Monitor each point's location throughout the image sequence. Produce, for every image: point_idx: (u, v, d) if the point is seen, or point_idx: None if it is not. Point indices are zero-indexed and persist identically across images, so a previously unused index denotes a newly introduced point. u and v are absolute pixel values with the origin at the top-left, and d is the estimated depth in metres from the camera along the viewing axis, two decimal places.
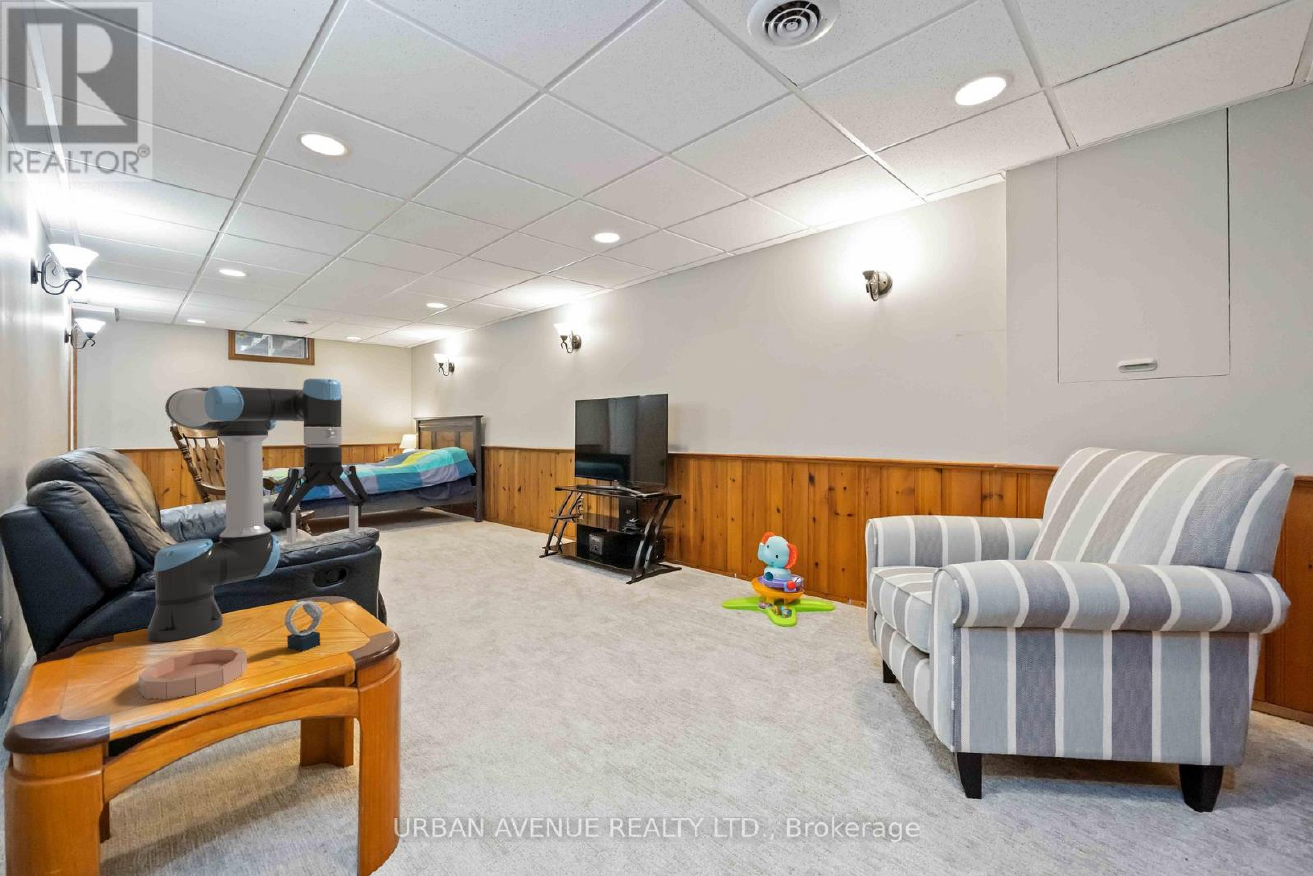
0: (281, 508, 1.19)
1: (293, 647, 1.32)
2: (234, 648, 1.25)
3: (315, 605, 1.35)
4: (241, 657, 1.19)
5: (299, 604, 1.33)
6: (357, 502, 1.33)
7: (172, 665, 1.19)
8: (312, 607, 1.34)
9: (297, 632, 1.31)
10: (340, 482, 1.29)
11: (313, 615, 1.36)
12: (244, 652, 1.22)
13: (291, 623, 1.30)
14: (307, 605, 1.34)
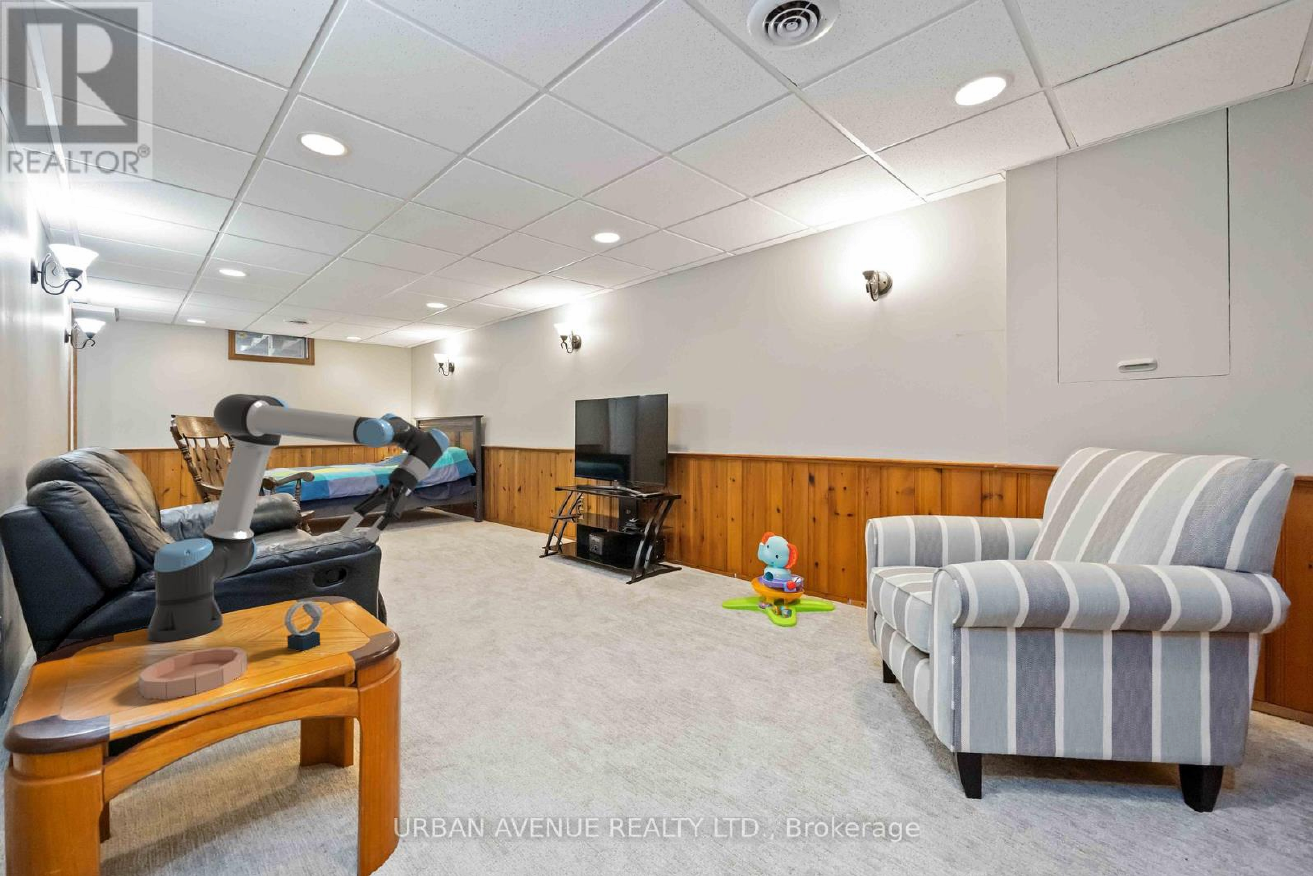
0: None
1: (293, 647, 1.32)
2: (234, 648, 1.25)
3: (315, 605, 1.35)
4: (241, 657, 1.19)
5: (299, 604, 1.32)
6: None
7: (172, 665, 1.19)
8: (312, 607, 1.34)
9: (297, 632, 1.31)
10: None
11: (313, 615, 1.36)
12: (244, 652, 1.22)
13: (291, 623, 1.30)
14: (307, 605, 1.34)
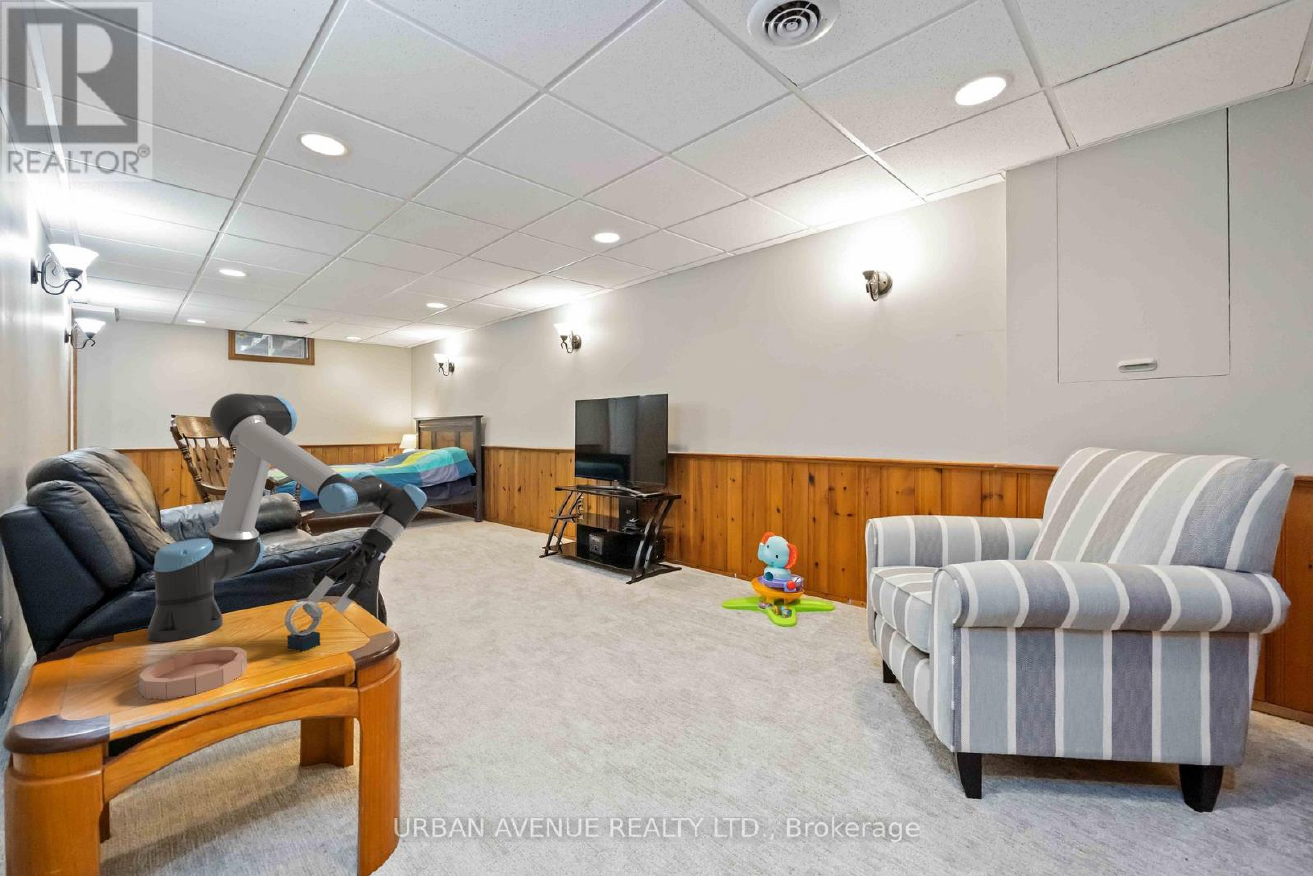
0: None
1: (293, 647, 1.32)
2: (234, 648, 1.25)
3: (315, 605, 1.35)
4: (241, 657, 1.19)
5: (299, 604, 1.32)
6: None
7: (172, 665, 1.19)
8: (312, 607, 1.34)
9: (297, 632, 1.31)
10: None
11: (313, 615, 1.36)
12: (244, 652, 1.22)
13: (291, 623, 1.30)
14: (307, 605, 1.34)
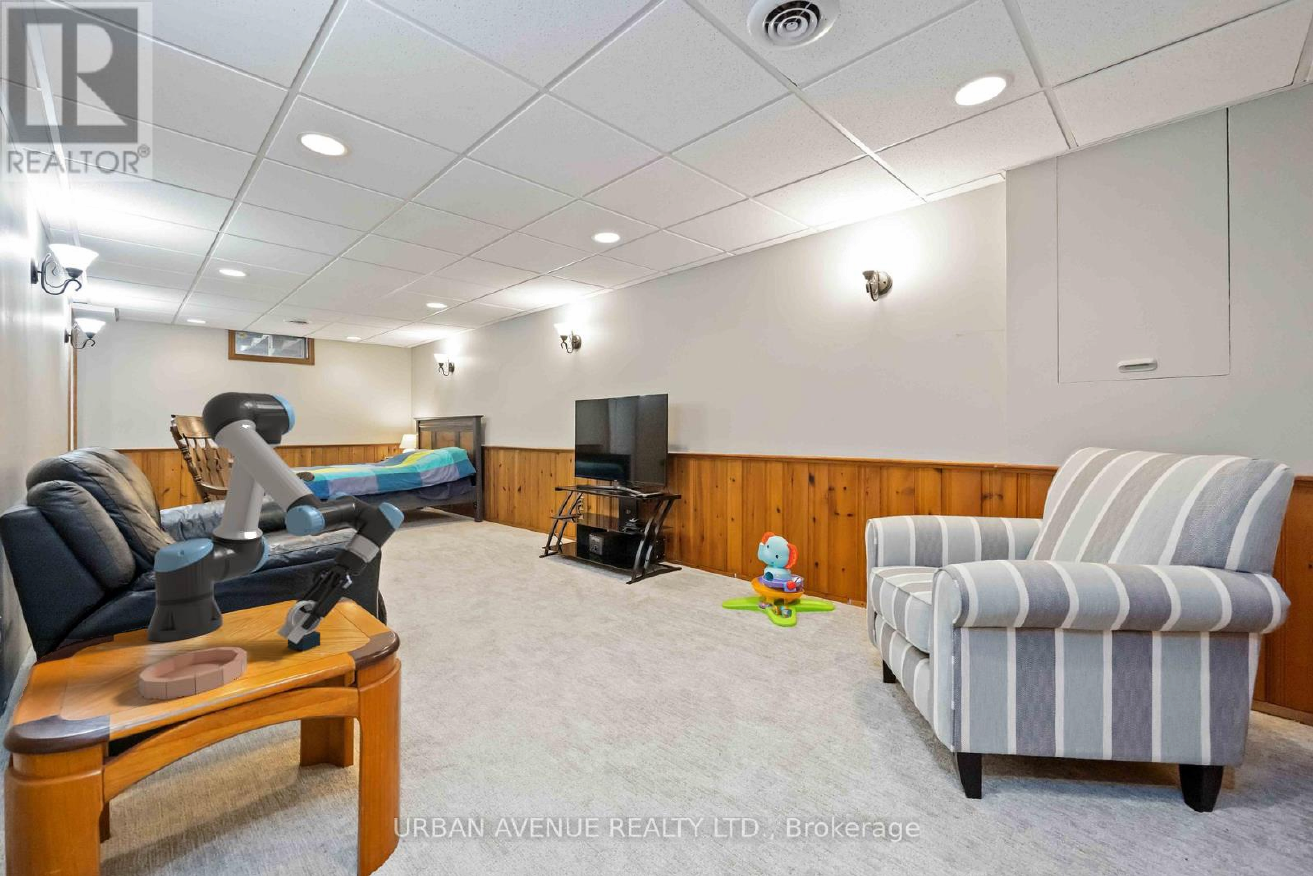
0: None
1: (293, 646, 1.32)
2: (234, 648, 1.25)
3: None
4: (241, 657, 1.19)
5: (301, 604, 1.32)
6: None
7: (172, 665, 1.19)
8: None
9: None
10: None
11: None
12: (244, 652, 1.22)
13: (292, 623, 1.30)
14: (308, 605, 1.34)
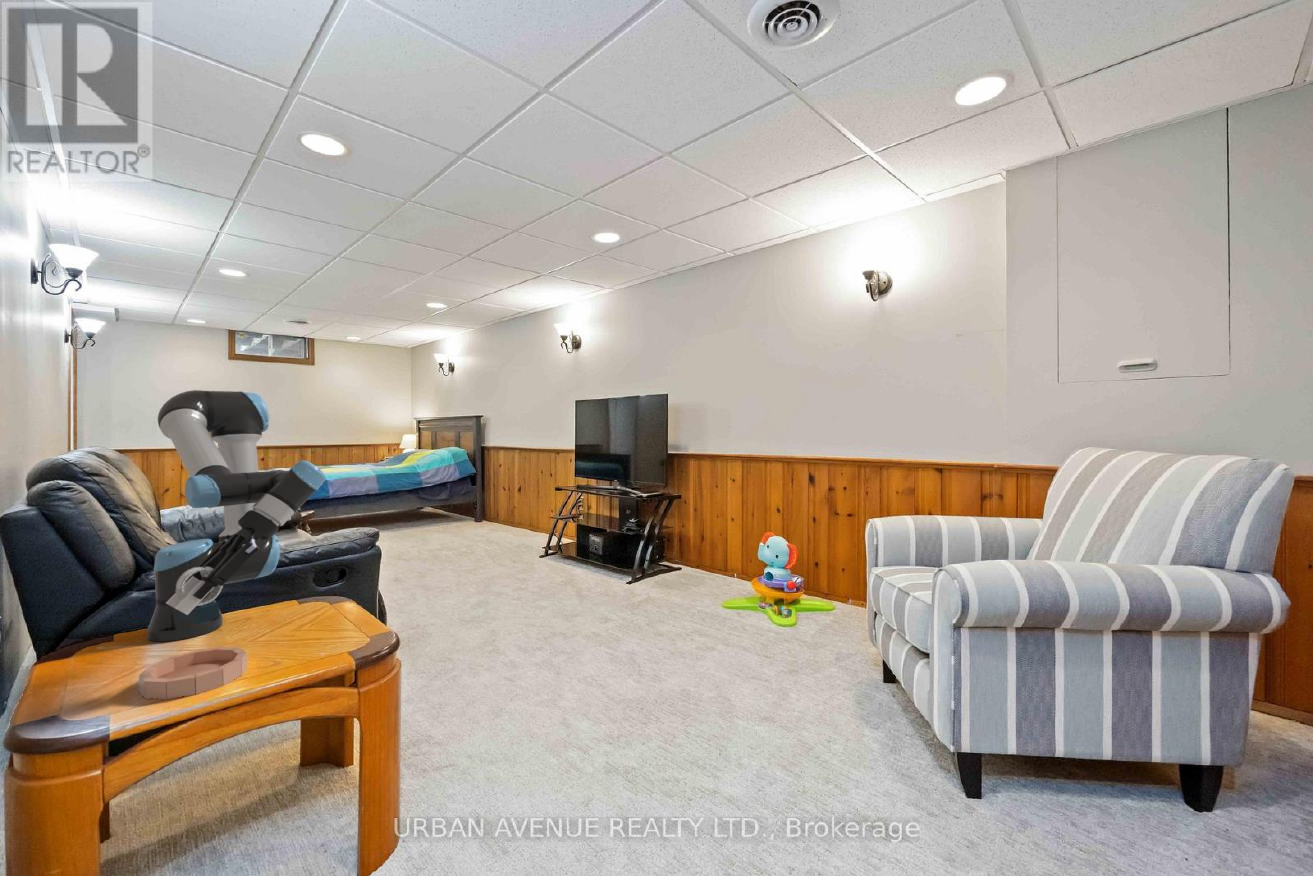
0: None
1: (185, 618, 1.15)
2: (234, 648, 1.25)
3: None
4: (241, 657, 1.19)
5: (194, 570, 1.15)
6: None
7: (172, 665, 1.19)
8: None
9: None
10: None
11: None
12: (244, 652, 1.22)
13: (182, 591, 1.13)
14: (205, 571, 1.17)
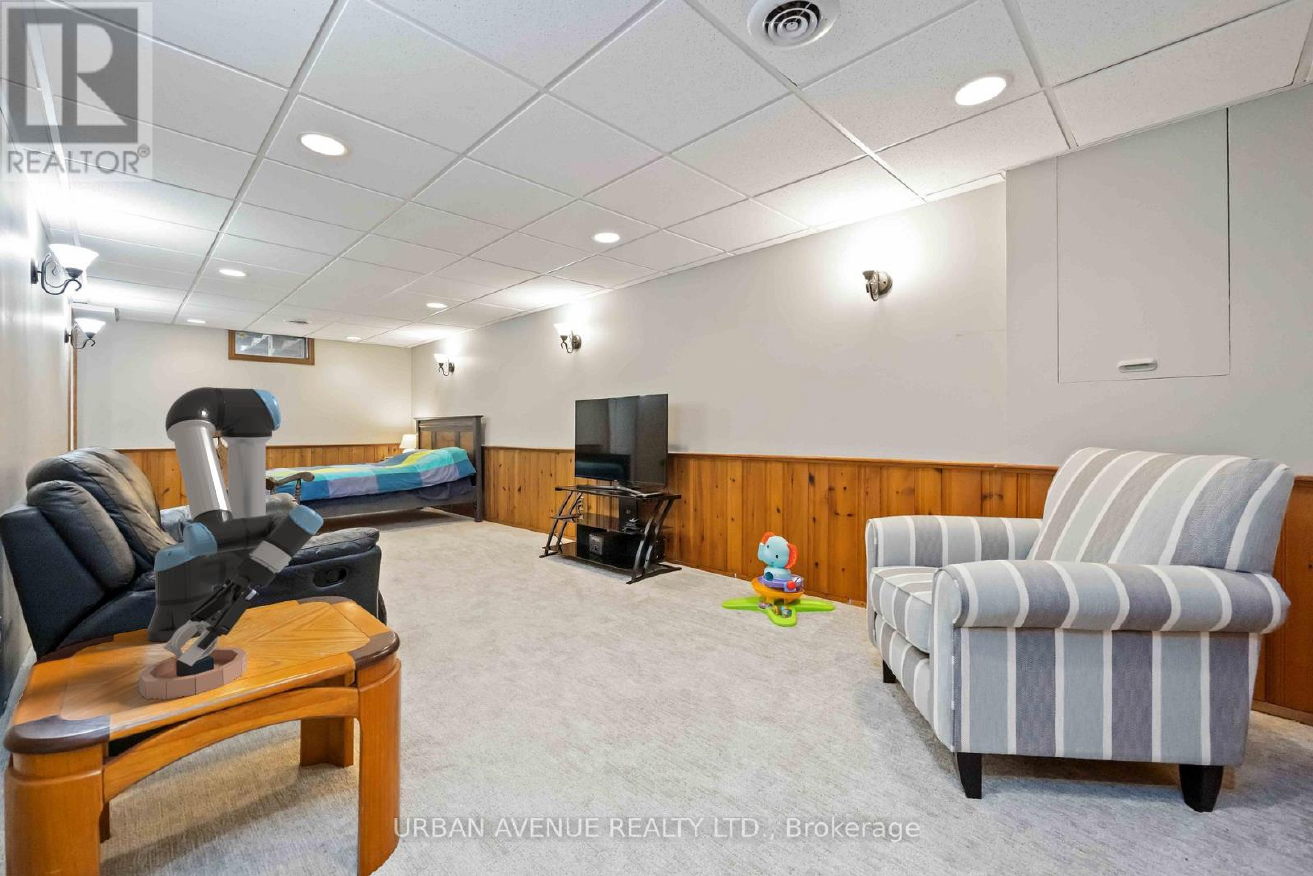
0: None
1: (181, 674, 1.16)
2: (234, 648, 1.25)
3: None
4: (241, 657, 1.19)
5: (188, 625, 1.16)
6: None
7: (172, 665, 1.19)
8: (204, 629, 1.18)
9: None
10: None
11: None
12: (244, 652, 1.22)
13: (176, 647, 1.14)
14: (199, 626, 1.18)
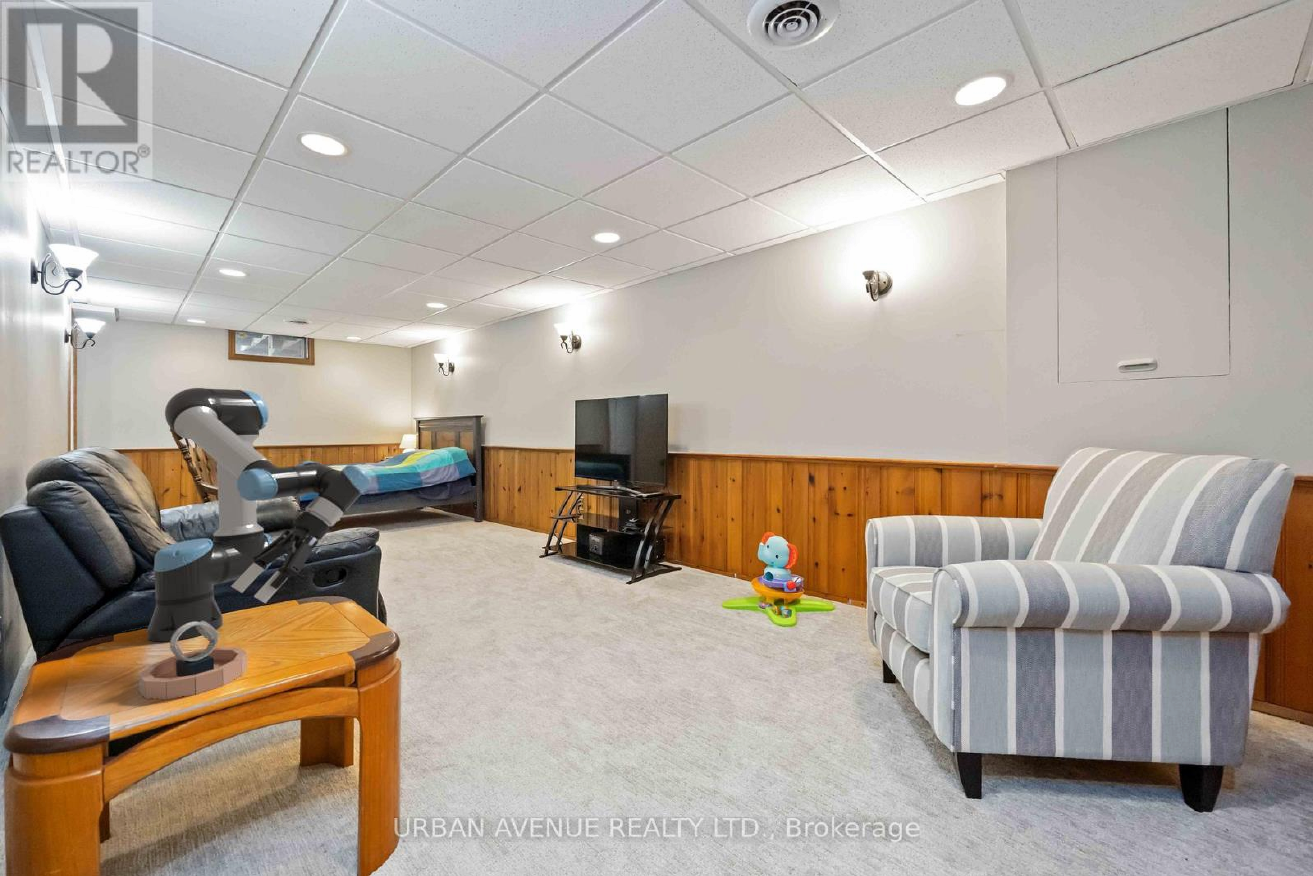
0: None
1: (181, 674, 1.16)
2: (234, 648, 1.25)
3: (208, 626, 1.18)
4: (241, 657, 1.19)
5: (188, 625, 1.16)
6: None
7: (172, 665, 1.19)
8: (204, 629, 1.18)
9: (184, 658, 1.15)
10: None
11: (208, 637, 1.20)
12: (244, 652, 1.22)
13: (176, 647, 1.14)
14: (199, 626, 1.18)
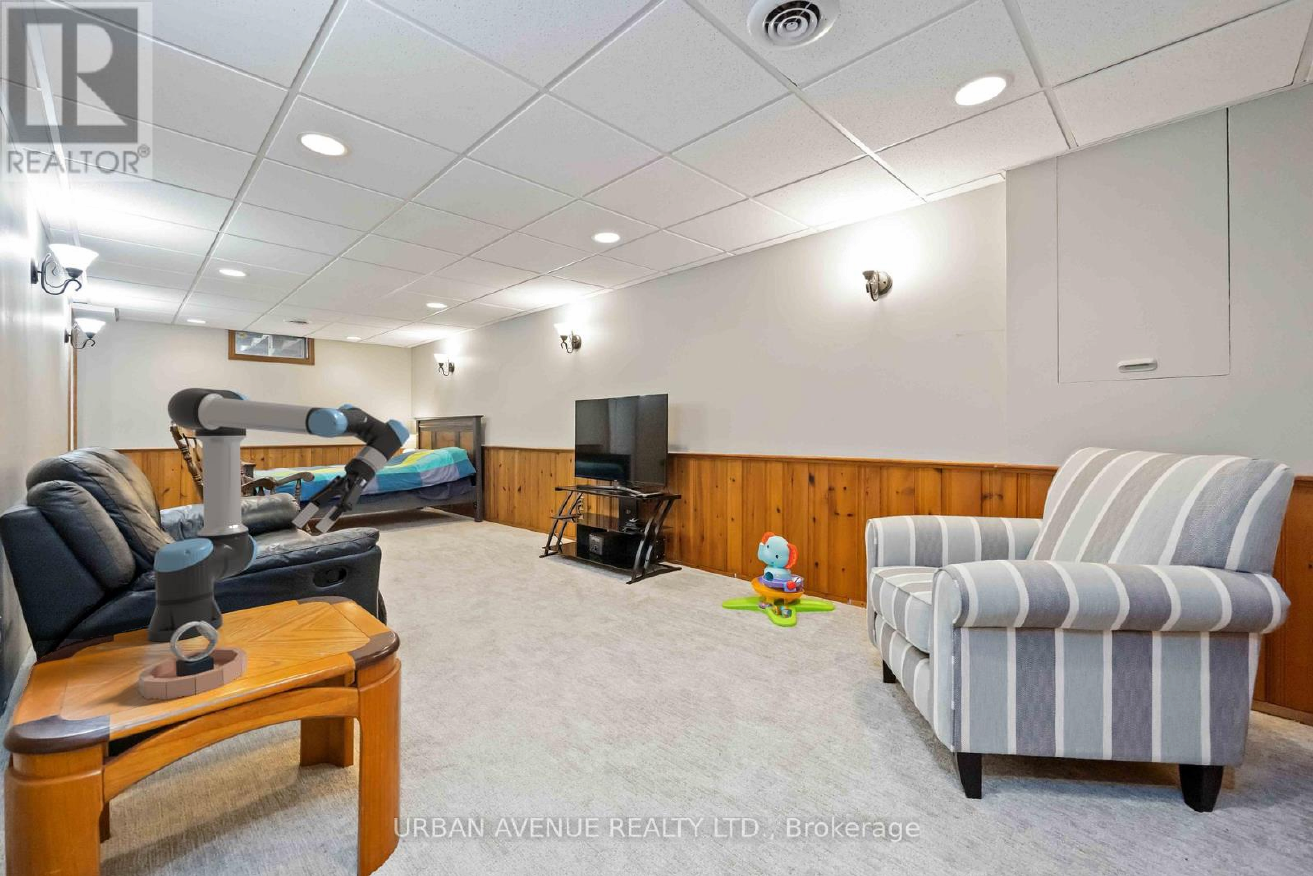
0: None
1: (181, 674, 1.16)
2: (234, 648, 1.25)
3: (208, 626, 1.18)
4: (241, 657, 1.19)
5: (188, 625, 1.16)
6: None
7: (172, 665, 1.19)
8: (204, 629, 1.18)
9: (184, 658, 1.15)
10: None
11: (208, 637, 1.20)
12: (244, 652, 1.22)
13: (176, 647, 1.14)
14: (199, 626, 1.18)
